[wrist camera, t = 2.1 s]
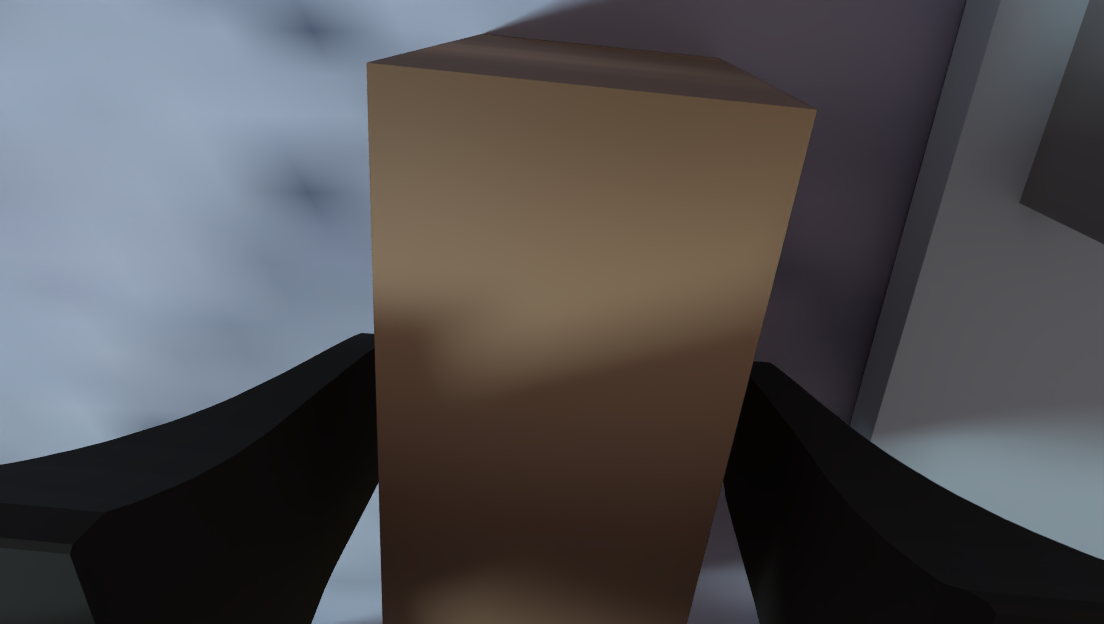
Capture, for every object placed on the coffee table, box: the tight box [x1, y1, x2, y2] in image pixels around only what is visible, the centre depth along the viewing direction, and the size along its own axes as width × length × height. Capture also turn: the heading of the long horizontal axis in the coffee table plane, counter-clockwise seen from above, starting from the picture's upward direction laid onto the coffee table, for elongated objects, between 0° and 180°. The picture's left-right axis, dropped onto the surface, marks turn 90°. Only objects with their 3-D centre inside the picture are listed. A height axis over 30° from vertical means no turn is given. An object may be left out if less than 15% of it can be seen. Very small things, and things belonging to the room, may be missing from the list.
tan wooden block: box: [367, 34, 817, 624], centre depth 11 cm, size 12×4×6 cm, turn 175°
